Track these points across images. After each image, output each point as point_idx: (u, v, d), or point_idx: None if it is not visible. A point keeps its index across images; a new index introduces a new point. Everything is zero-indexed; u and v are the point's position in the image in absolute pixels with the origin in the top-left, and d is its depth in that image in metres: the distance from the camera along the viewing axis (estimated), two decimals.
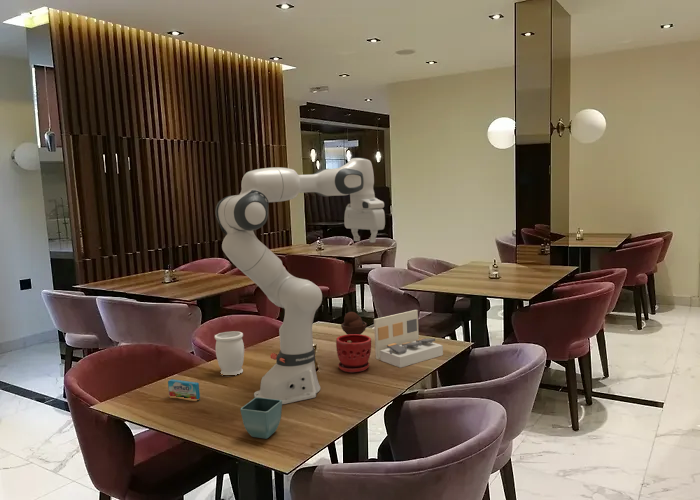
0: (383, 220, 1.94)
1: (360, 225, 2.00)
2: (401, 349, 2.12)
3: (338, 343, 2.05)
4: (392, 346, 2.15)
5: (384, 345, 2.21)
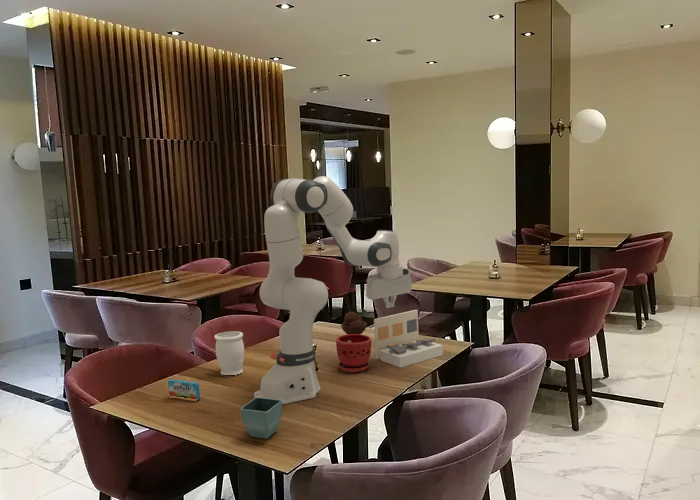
0: None
1: (392, 292, 2.13)
2: (401, 349, 2.12)
3: (338, 343, 2.05)
4: (392, 346, 2.15)
5: (384, 345, 2.21)
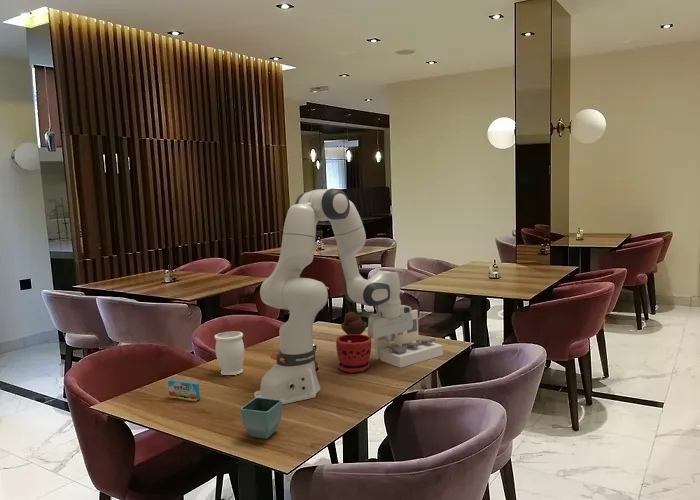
0: None
1: (394, 330, 2.15)
2: (401, 349, 2.12)
3: (338, 343, 2.05)
4: (392, 346, 2.15)
5: (384, 345, 2.21)
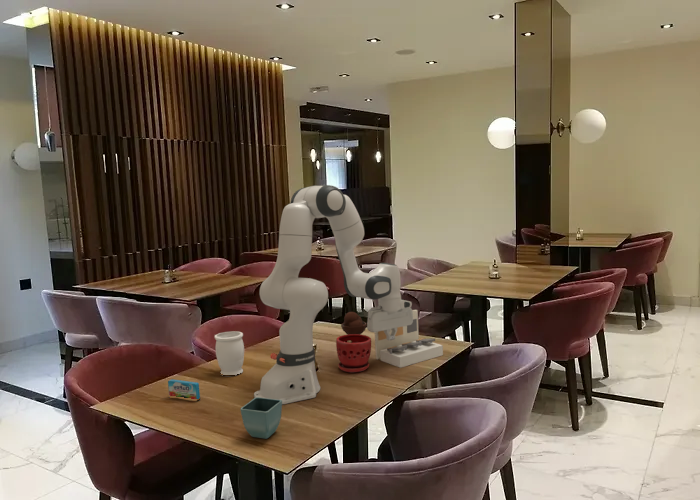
0: None
1: (393, 324, 2.14)
2: (401, 347, 2.12)
3: (338, 343, 2.05)
4: (392, 347, 2.15)
5: (384, 345, 2.21)
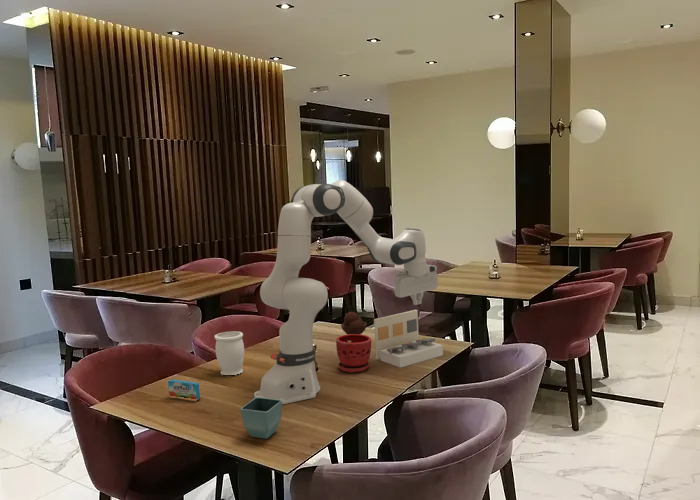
0: None
1: (420, 289, 2.16)
2: (400, 346, 2.12)
3: (338, 343, 2.05)
4: (392, 348, 2.15)
5: (384, 345, 2.21)
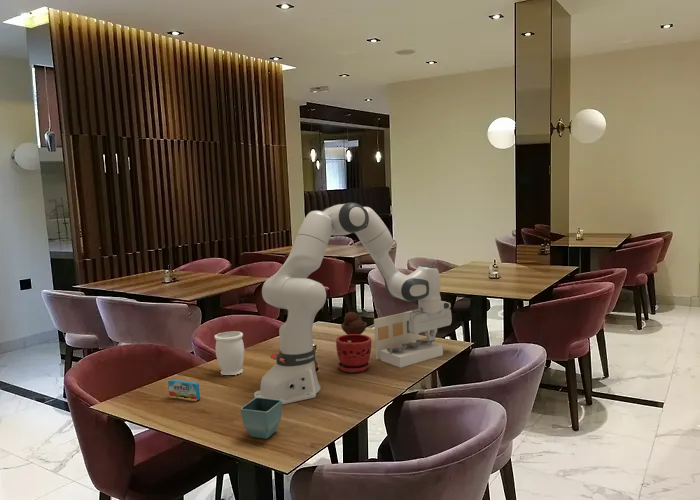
0: None
1: (434, 325, 2.18)
2: (401, 346, 2.12)
3: (338, 343, 2.05)
4: (392, 347, 2.15)
5: (384, 345, 2.21)
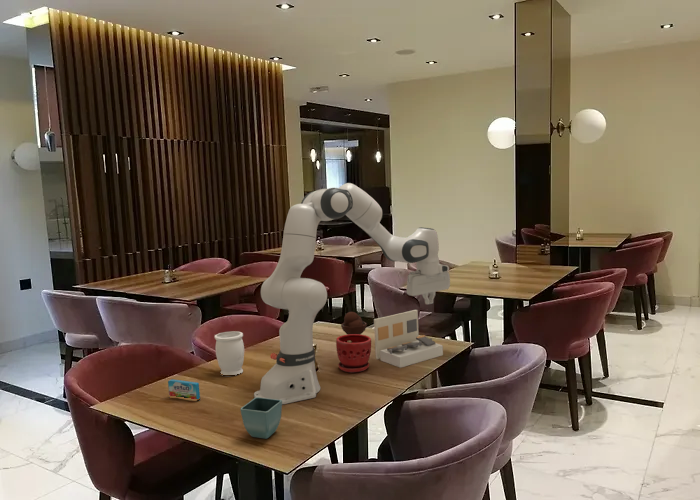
0: None
1: (432, 288, 2.16)
2: (401, 347, 2.12)
3: (338, 343, 2.05)
4: (392, 347, 2.15)
5: (384, 345, 2.21)
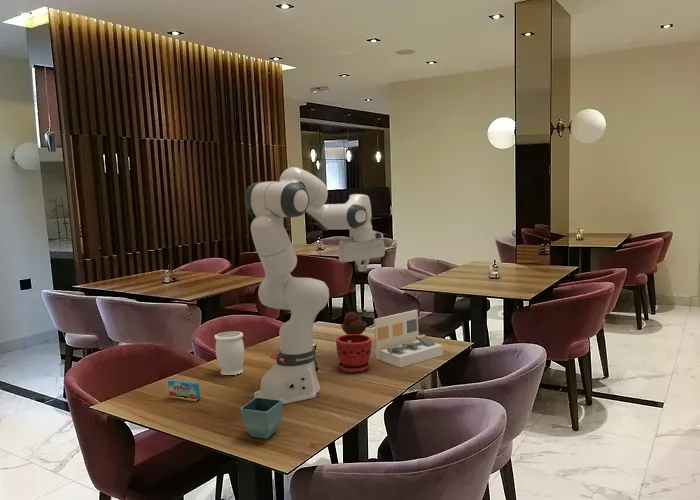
0: None
1: (365, 255, 2.15)
2: (401, 347, 2.12)
3: (338, 343, 2.05)
4: (392, 347, 2.15)
5: (384, 345, 2.21)
